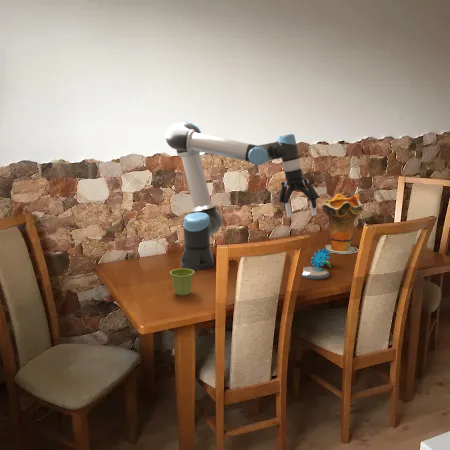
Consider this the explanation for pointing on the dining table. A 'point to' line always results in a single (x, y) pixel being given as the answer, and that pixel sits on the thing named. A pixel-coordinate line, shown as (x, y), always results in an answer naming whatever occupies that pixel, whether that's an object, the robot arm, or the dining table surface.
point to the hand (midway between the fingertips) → (301, 216)
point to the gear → (321, 258)
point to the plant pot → (182, 280)
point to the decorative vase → (342, 222)
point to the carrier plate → (315, 273)
